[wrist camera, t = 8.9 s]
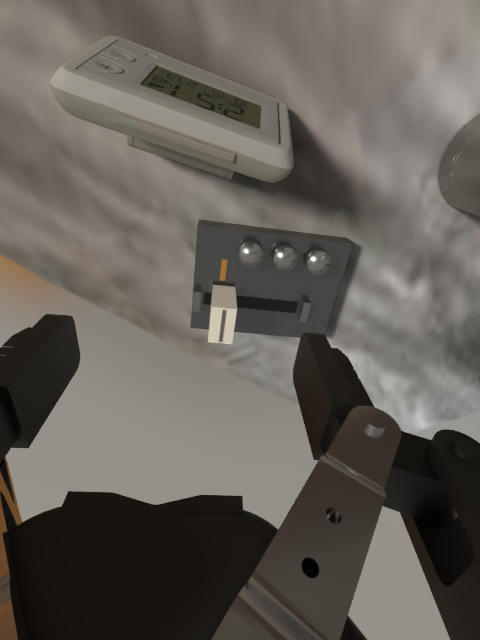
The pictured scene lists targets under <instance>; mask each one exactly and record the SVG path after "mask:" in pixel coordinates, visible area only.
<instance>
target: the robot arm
mask: <svg viewBox="0 0 480 640" xmlns="http://www.w3.org/2000/svg"><path fill="white" fill-rule="evenodd" d="M439 186H440V190H441V193H442V196H443V197H444V198H445V200H446V201H447V202H448V203H449V204H450V205H451V206H452V207H454V208H457V209H459V210H462V211H465V212H468V213H471V214H473V215H476V216H479V217H480V115H478V116H476V117H475V118H474V119H472V120H471V121H470V122H468V123H467V124H466V125H465V126H464V127H463V128H462V129H461V130H460V131H459V132H458V133H457V134H456V136H455V137H454V138H453V140H452V141H451V143H450V144H449V146H448V148H447V150H446V152H445V154H444V156H443V159H442V162H441V165H440V171H439ZM79 362H80V350H79V345H78V340H77V334H76V328H75V323H74V319H73V318H72V316H67V315H53V314H46V315H45V316H43V317H42V318H41V319H40V320H39V321H38V322H37V323H36V324H35V325H34V327H33V328H30V327H28V328H26V329H24V330H22V331H21V332H19V333H17V334H15V335H13V336H12V337H11V338H10V339H9V340H8V341H7V342H6V343H5V344H4V345H2V348H0V640H367V639H366V638H365V636H364V635H363V634H362V632H361V631H360V630H359V629H358V627H357V626H356V625H355V624H354V622H353V621H352V620H351V619H350V617H349V616H348V613H349V609H350V606H351V603H352V600H353V597H354V594H355V591H356V588H357V584H358V581H359V578H360V575H361V572H362V569H363V565H364V562H365V559H366V556H367V553H368V550H369V547H370V544H371V540H372V537H373V534H374V531H375V528H376V525H377V522H378V518H379V515H380V512H381V509H382V506H385V507H388V508H390V509H393V510H396V511H399V512H400V513H401V516H402V518H403V521H404V523H405V526H406V529H407V531H408V533H409V536H410V539H411V541H412V544H413V546H414V549H415V551H416V554H417V556H418V559H419V561H420V564H421V567H422V569H423V572H424V574H425V576H426V579H427V582H428V584H429V587H430V589H431V592H432V594H433V597H434V599H435V602H436V604H437V607H438V609H439V612H440V615H441V617H442V619H443V622H444V625H445V627H446V630H447V632H448V635H449V637H450V640H480V444H479V443H478V442H477V441H475V440H474V439H473V438H471V437H469V436H467V435H465V434H463V433H460V432H457V431H454V430H440V431H438V432H437V433H436V434H435V435H434V437H433V439H432V440H429V439H425V438H422V437H419V436H415V435H412V434H409V433H406V432H403V431H401V429H400V427H399V425H398V424H397V422H396V421H395V420H394V419H393V418H392V417H391V416H390V415H388V414H387V413H385V412H384V411H382V410H380V409H377V408H375V407H374V406H373V404H372V402H371V400H370V398H369V396H368V394H367V392H366V391H365V389H364V387H363V385H362V383H361V381H360V379H359V378H358V375H357V374H356V372H355V370H353V366H352V364H351V362H350V360H349V359H348V357H347V356H346V355H344V354H343V353H342V352H341V351H340V350H339V349H337V348H331V346H330V344H329V342H328V340H327V338H326V336H325V335H324V334H317V333H303V334H302V335H301V338H300V343H299V347H298V351H297V355H296V359H295V364H294V369H293V382H294V386H295V390H296V394H297V398H298V401H299V405H300V409H301V412H302V416H303V420H304V424H305V428H306V432H307V435H308V439H309V443H310V446H311V450H312V454H313V458H314V460H319V461H318V462H317V464H316V466H315V468H314V469H313V471H312V473H311V474H310V476H309V478H308V480H307V481H306V483H305V485H304V486H303V488H302V490H301V492H300V493H299V495H298V497H297V498H296V500H295V502H294V504H293V505H292V507H291V509H290V511H289V512H288V514H287V516H286V517H285V519H284V521H283V523H282V524H281V526H280V528H279V529H277V528H276V527H274V526H273V525H272V524H270V523H269V522H268V521H266V520H264V519H263V518H261V517H259V516H257V515H255V514H253V513H250V512H248V511H245V510H243V504H242V503H243V502H242V496H219V495H199V496H194V497H190V498H185V499H181V500H177V501H172V502H168V503H164V504H159V505H152V504H149V503H145V502H142V501H138V500H135V499H132V498H129V497H125V496H122V495H119V494H116V493H108V492H71V491H69V492H68V494H67V496H66V498H65V501H64V503H63V505H62V507H58V508H55V509H51V510H48V511H45V512H43V513H41V514H38V515H36V516H34V517H32V518H30V519H28V520H26V521H24V522H22V519H21V516H20V513H19V509H18V504H17V500H16V496H15V492H14V488H13V483H12V479H11V475H10V471H9V467H8V463H7V460H6V457H5V456H6V454H7V453H8V451H9V450H10V448H12V447H13V448H29V446H30V445H31V443H32V442H33V440H34V438H35V437H36V435H37V434H38V432H39V430H40V428H41V427H42V426H43V424H44V422H45V421H46V419H47V417H48V416H49V414H50V412H51V411H52V409H53V408H54V406H55V405H56V403H57V401H58V399H59V398H60V397H61V395H62V393H63V392H64V390H65V388H66V387H67V385H68V384H69V382H70V381H71V379H72V377H73V376H74V374H75V372H76V371H77V369H78V366H79ZM462 523H463V524H462ZM468 534H469V535H468Z"/></svg>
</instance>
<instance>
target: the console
mask: <svg viewBox="0 0 480 640" xmlns="http://www.w3.org/2000/svg"><path fill="white" fill-rule="evenodd" d="M352 246H353V243H352V242H351V241H349V240H348V239H347V238H341V237H333V236H325V235H317V234H309V233H301V232H294V231H286V230H278V229H270V228H262V227H254V226H246V225H238V224H230V223H222V222H214V221H206V220H199V222H198V230H197V245H196V259H195V274H194V288H193V303H192V317H191V328H198V329H209V321H210V310H211V300H212V290H213V285H222V286H231V287H235V289H236V301H237V314H236V320H235V327H234V332H243V333H255V334H266V335H277V336H288V337H300V338H301V335H302V334H303V333H317V334H325V331H326V328H327V325H328V321H329V318H330V315H331V312H332V309H333V306H334V303H335V299H336V296H337V293H338V290H339V287H340V284H341V281H342V277H343V274H344V271H345V268H346V265H347V262H348V259H349V255H350V252H351V249H352Z"/></svg>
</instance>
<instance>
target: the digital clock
mask: <svg viewBox="0 0 480 640" xmlns="http://www.w3.org/2000/svg"><path fill="white" fill-rule="evenodd" d="M50 83H51V84H50V85H51V90H52V92H53V95H54V97H55V99H56V100H57V101H58V103H59V104H60V105H61V107H62V108H63V109H64V110H65V111H66V112H68V113H69V114H71V115H73V116H75V117H77V118H80V119H83V120H86V121H89V122H91V123H94V124H97V125H100V126H103V127H106V128H108V129H111V130H114V131H117V132H120V133H123V134H126V135H127V143H128V145H129V146H131V147H134V148H137V149H140V150H143V151H146V152H149V153H152V154H155V155H158V156H161V157H164V158H167V159H170V160H173V161H176V162H179V163H182V164H185V165H188V166H191V167H194V168H197V169H200V170H203V171H206V172H209V173H212V174H215V175H218V176H221V177H224V178H227V179H230V180H231V179H232V177H233V174H234V171H235V172H238V173H241V174H243V175H246V176H249V177H253V178H256V179H259V180H262V181H265V182H269V183H276V182H279V181H281V180H283V179H284V178H286V177H287V176H288V175H289V174H290V172H291V170H292V168H293V166H294V158H293V149H292V139H291V129H290V120H289V114H288V110H287V106H286V105H285V104H284V103H283V102H281V101H279V100H277V99H275V98H272V97H270V96H267V95H265V94H262V93H260V92H257V91H255V90H252V89H250V88H247V87H245V86H242V85H240V84H237V83H235V82H232V81H230V80H227V79H225V78H222V77H220V76H217V75H215V74H212V73H210V72H207V71H204V70H202V69H199V68H197V67H194V66H192V65H189V64H187V63H184V62H182V61H179V60H177V59H174V58H172V57H169V56H167V55H164V54H162V53H159V52H157V51H154V50H152V49H149V48H146V47H144V46H141V45H139V44H136V43H134V42H131V41H128V40H126V39H123V38H120V37H117V36H107V37H105V38H104V39H102V40H100V41H99V42H97V43H96V44H94V45H92V46H91V47H89V48H87V49H86V50H84V51H83V52H81V53H79V54H78V55H76V56H74V57H73V58H71V59H70V60H68V61H67V62H65V63H64V64H63V65H62V66H61V67H60V68H59V70H58V71H57V72H56V73H55V75H54V76H53V77H52V79H51V81H50Z"/></svg>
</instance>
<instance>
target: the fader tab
mask: <svg viewBox="0 0 480 640" xmlns="http://www.w3.org/2000/svg"><path fill="white" fill-rule="evenodd" d="M236 314H237V301H236V289H235V287H231V286H222V285H213V290H212V300H211V310H210V321H209V336H208V342H214V343H225V344H232V341H233V334H234V327H235V320H236Z"/></svg>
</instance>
